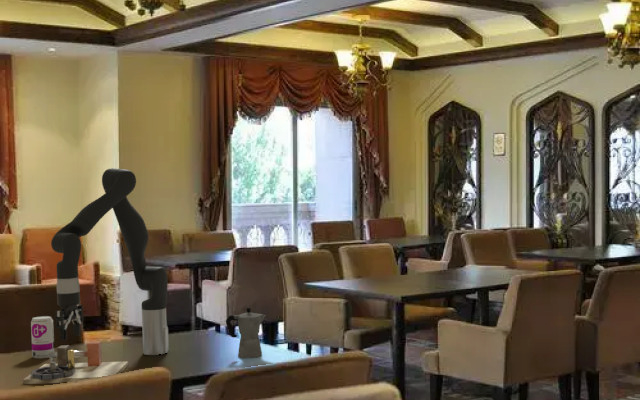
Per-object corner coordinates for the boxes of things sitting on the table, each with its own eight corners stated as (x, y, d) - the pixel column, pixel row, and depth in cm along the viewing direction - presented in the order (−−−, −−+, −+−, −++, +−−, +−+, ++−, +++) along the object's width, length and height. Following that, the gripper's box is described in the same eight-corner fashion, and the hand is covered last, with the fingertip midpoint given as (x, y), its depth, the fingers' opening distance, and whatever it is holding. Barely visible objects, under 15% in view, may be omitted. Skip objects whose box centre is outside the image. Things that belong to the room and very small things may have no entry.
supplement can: (47, 359, 336) (46, 319, 336) (28, 358, 338) (26, 319, 337) (58, 354, 344) (56, 316, 343) (38, 354, 346) (37, 315, 345)
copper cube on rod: (101, 363, 318) (101, 341, 318) (99, 365, 314) (98, 343, 314) (51, 364, 318) (50, 342, 318) (48, 367, 314) (47, 344, 314)
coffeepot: (263, 351, 338) (262, 304, 338) (270, 356, 329) (269, 307, 329) (224, 355, 333) (222, 307, 332) (230, 360, 324) (228, 311, 324)
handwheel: (69, 367, 312) (68, 346, 312) (80, 375, 300) (79, 353, 300) (27, 373, 304) (26, 352, 304) (37, 381, 292) (36, 358, 292)
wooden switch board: (128, 365, 320) (127, 342, 320) (113, 381, 296) (112, 356, 296) (45, 368, 320) (44, 345, 320) (23, 384, 296) (22, 359, 296)
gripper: (67, 294, 296) (69, 342, 297) (88, 287, 310) (90, 334, 311) (47, 294, 298) (49, 342, 299) (69, 287, 312) (71, 333, 313)
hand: (70, 337), depth 305 cm, fingers open, 8 cm apart
